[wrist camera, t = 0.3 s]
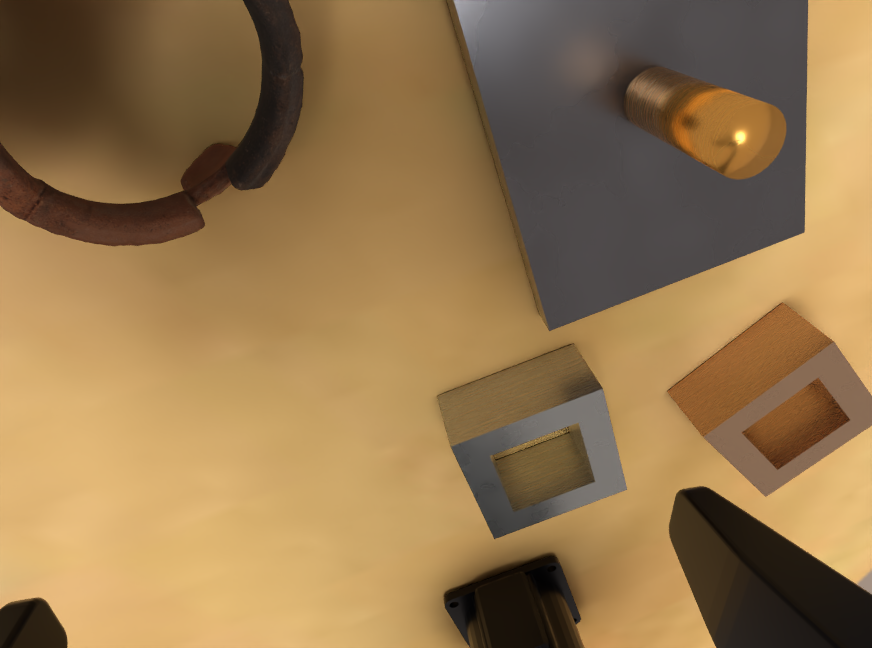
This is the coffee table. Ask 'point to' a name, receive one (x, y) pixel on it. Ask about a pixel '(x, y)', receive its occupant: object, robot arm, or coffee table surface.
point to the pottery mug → (206, 175)
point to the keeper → (639, 136)
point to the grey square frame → (527, 420)
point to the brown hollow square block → (776, 399)
